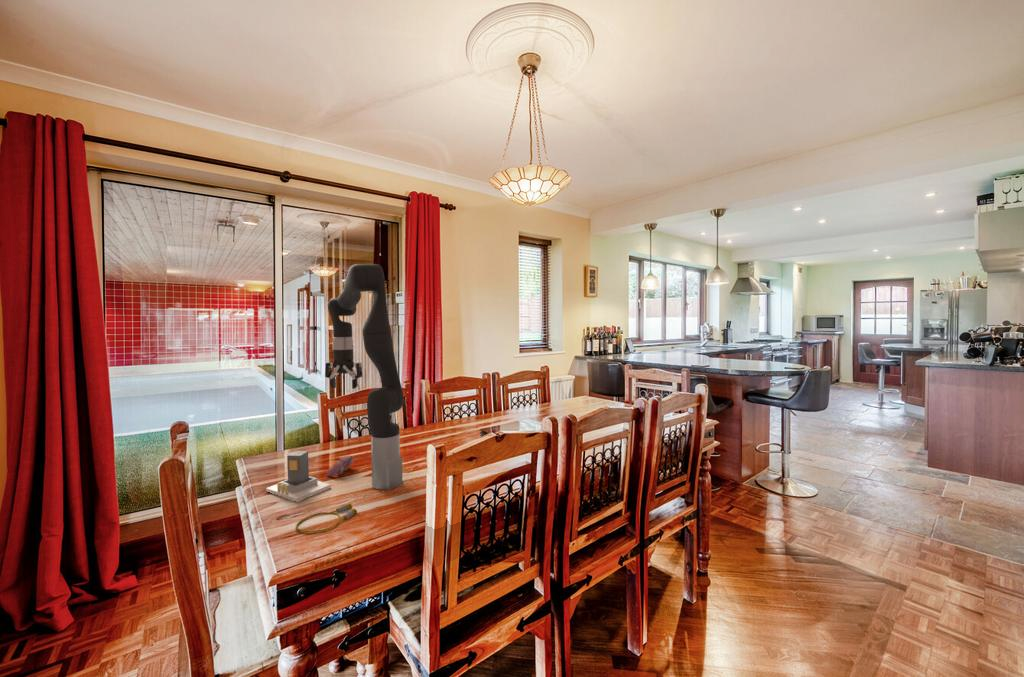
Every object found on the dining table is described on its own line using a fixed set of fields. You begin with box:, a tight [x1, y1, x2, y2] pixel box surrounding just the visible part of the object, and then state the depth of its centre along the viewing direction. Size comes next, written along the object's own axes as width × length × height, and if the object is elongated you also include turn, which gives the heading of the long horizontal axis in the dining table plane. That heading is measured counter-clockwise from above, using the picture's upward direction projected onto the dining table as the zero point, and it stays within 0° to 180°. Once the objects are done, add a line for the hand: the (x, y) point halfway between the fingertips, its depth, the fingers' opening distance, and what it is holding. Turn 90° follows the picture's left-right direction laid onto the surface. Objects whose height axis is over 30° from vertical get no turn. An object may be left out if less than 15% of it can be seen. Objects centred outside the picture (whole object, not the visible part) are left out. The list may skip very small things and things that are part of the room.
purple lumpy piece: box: [326, 454, 355, 478], centre depth 149 cm, size 10×5×7 cm, turn 169°
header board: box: [265, 475, 332, 503], centre depth 134 cm, size 16×12×4 cm
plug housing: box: [286, 450, 310, 486], centre depth 134 cm, size 4×5×11 cm
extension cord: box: [295, 502, 358, 535], centre depth 114 cm, size 12×16×2 cm
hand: (344, 388), depth 164 cm, fingers open, 8 cm apart
